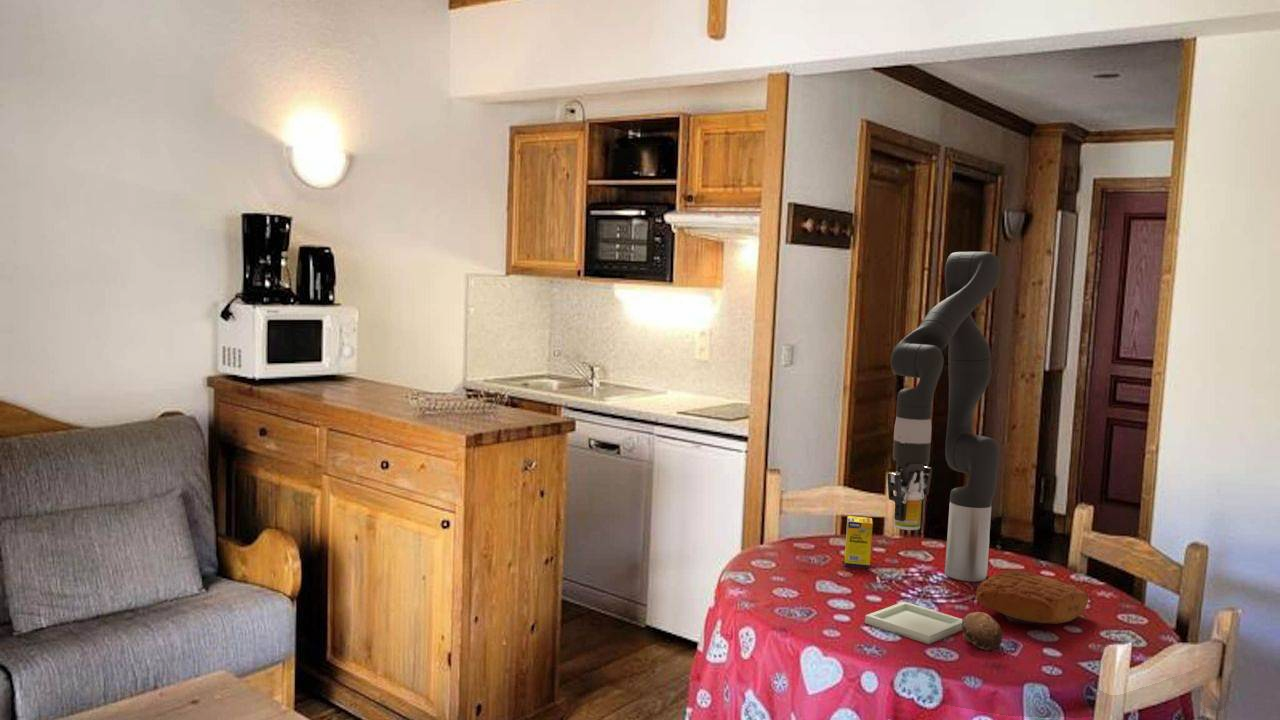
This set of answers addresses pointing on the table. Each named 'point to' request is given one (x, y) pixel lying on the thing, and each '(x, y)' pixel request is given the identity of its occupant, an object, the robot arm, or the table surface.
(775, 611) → the table surface
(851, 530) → the supplement box
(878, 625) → the tray
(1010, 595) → the clay tablet
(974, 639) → the mushroom
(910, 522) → the supplement bottle
